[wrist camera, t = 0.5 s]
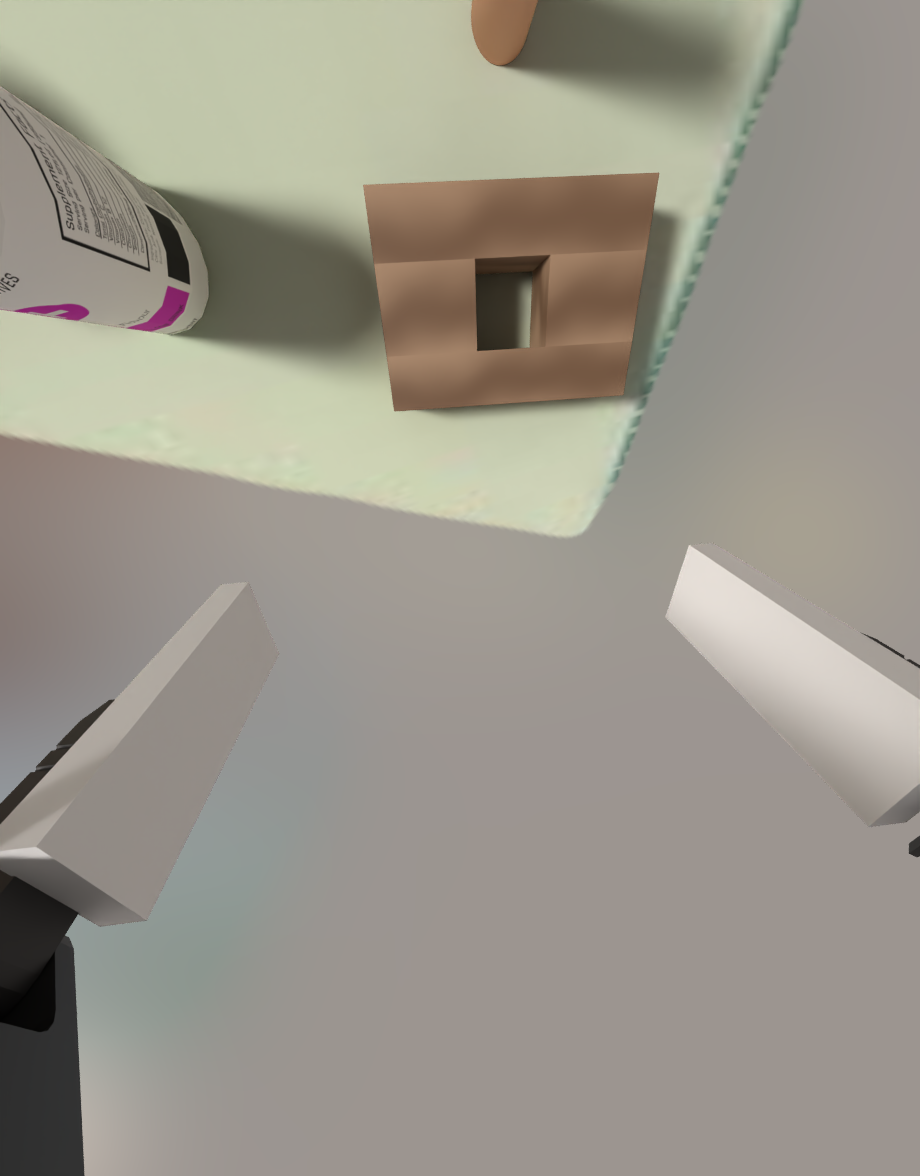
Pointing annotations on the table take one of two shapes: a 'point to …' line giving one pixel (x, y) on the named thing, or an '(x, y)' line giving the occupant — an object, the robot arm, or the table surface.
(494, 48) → the dowel pin
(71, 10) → the table surface
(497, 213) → the hole block
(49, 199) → the supplement can
